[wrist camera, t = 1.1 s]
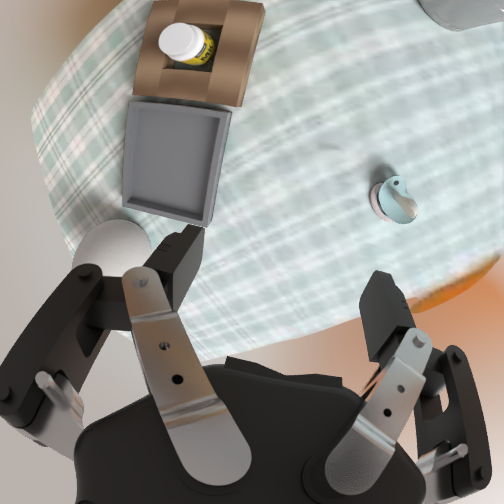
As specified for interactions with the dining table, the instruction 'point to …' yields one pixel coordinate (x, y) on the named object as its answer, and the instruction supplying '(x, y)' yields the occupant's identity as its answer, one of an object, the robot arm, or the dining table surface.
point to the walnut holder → (226, 60)
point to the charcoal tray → (173, 159)
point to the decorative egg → (114, 247)
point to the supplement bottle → (188, 44)
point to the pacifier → (394, 201)
